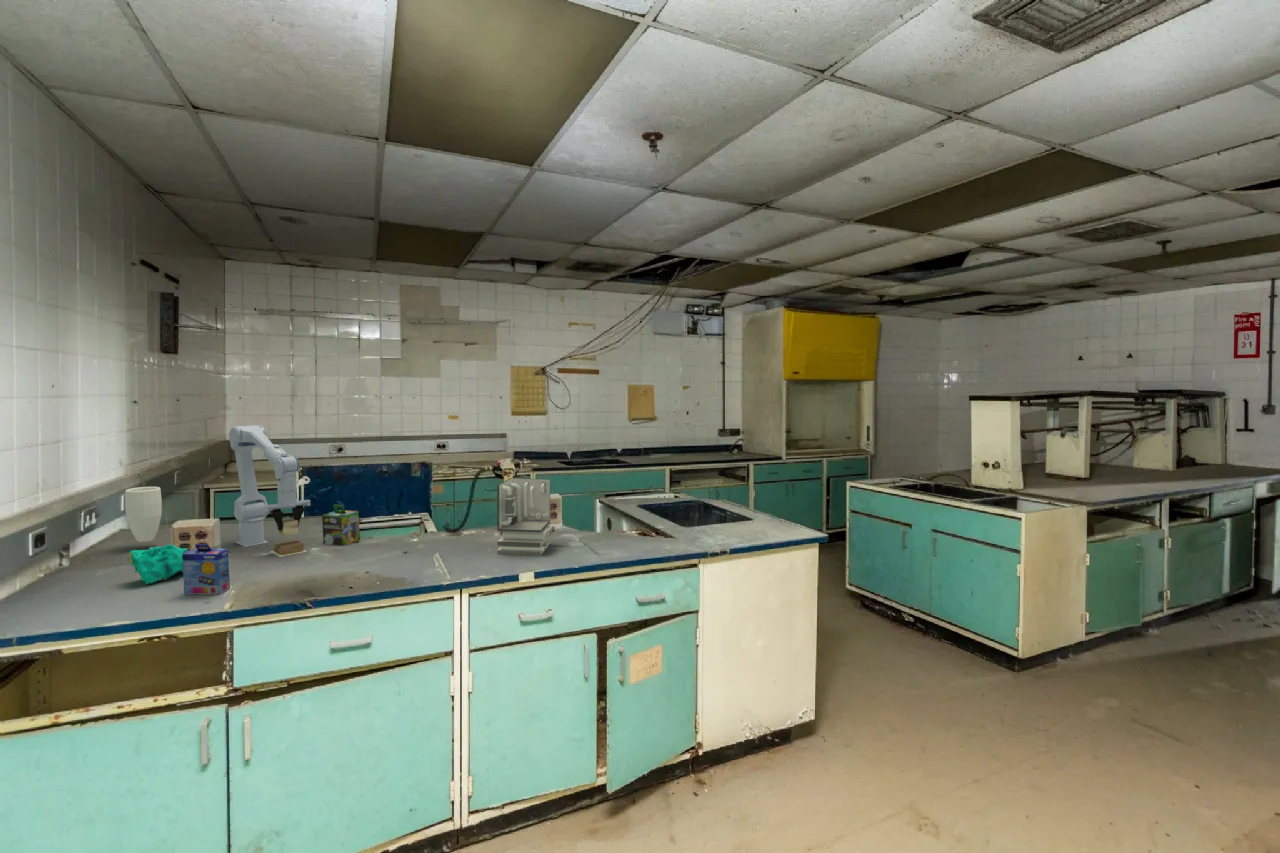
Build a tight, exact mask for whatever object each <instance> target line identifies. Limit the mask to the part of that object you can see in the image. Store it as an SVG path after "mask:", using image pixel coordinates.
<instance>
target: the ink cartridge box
mask: <svg viewBox="0 0 1280 853" xmlns="http://www.w3.org/2000/svg"><path fill="white" fill-rule="evenodd" d="M194 545H195V548H191V549H190V550H187V551H186V552H185V553H183V554H182V559H183V571H182V576H183V595H184V594H218V595H221V594H222V593H224V592H226V591H228V590H229V589H231V581H230V565H229V549H228V548H218V547H217V548H211V546H210V545H209V543H208V544H202V543H201V544H194ZM220 593H221V594H220Z"/></svg>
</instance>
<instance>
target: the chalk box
mask: <svg viewBox="0 0 1280 853" xmlns="http://www.w3.org/2000/svg"><path fill="white" fill-rule="evenodd" d="M338 508H340V510H339V509H338ZM333 510H334V511H330V512H328V513H324V514H322V516H321V518H322V519H321V521H322V522H321V524H322V540H323V541H322V543H323V545H324V544H325V545H330V546H331V545H333V546H346V545H349V544H351V543H352V544H353V543H356V542H358V541H361V536H360V517H359V516H360V515H359V514H360V513H359V511H360V510H359V511H358V510H346V509H345V506H344V505H343V504H333Z"/></svg>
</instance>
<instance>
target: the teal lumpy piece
mask: <svg viewBox="0 0 1280 853" xmlns="http://www.w3.org/2000/svg"><path fill="white" fill-rule="evenodd" d="M187 551H188V548H185V547H184V548H180V547H178V546H176V545H173V544H172V543H171V544H166V545H164V546H154V547H152V546H151V547H149V548H148V549H147V550H146V549H139V550H138V549H134V550H133V549H132V550H129V553H128V554H129V558H130V560H129V562H130V565H131V566H132V567H133V568H134V569H135V570H134V573H138V574H139V576H140V580H141V581H144V582H145V585H146V584H147V585H149V584H148V583H150V584H154V583H156V582H158V581H157V580H159V579H164V578H167V579H169V578H170V577H172V576H174V575H175V574H177V573H179V572H181V571H182V572H183V559H182V554H183V553H185V552H187ZM168 577H169V578H168ZM164 580H165V579H164ZM155 581H156V582H155ZM159 581H160V580H159ZM153 582H154V583H153Z"/></svg>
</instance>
